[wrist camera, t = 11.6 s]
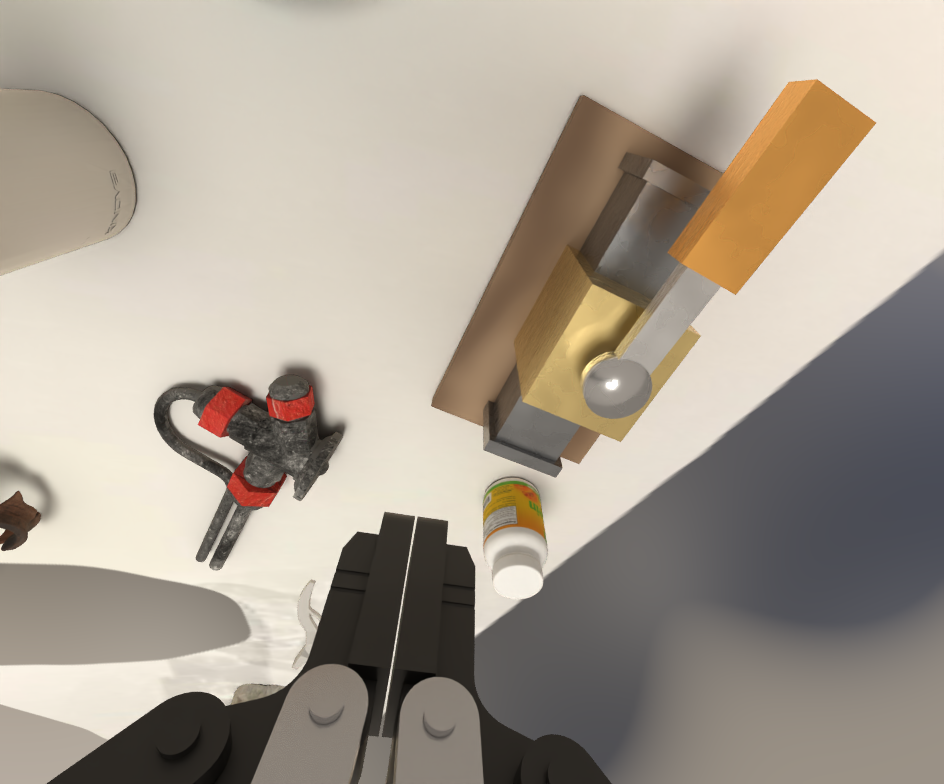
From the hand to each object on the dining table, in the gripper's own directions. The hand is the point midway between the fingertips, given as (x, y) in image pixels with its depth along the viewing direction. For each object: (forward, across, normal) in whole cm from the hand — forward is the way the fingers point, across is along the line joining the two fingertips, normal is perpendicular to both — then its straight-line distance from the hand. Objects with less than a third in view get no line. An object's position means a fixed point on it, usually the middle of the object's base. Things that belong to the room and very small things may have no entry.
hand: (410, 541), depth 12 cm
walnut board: (+27, -10, +2) cm, 29 cm away
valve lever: (+16, -12, -4) cm, 20 cm away
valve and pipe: (+27, -10, +2) cm, 29 cm away
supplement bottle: (+27, -9, +22) cm, 36 cm away
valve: (+28, +17, +23) cm, 40 cm away
